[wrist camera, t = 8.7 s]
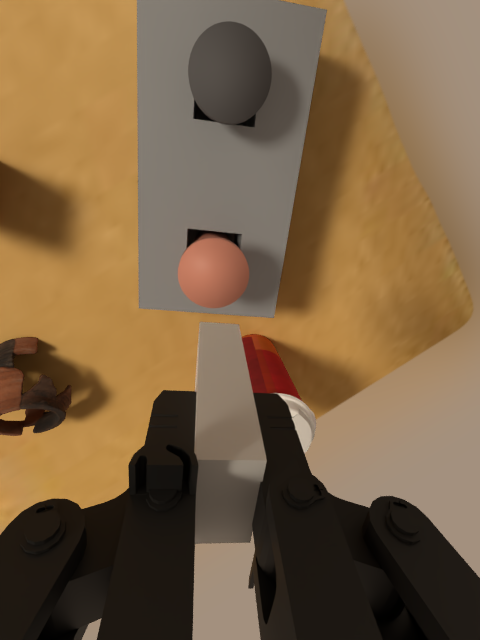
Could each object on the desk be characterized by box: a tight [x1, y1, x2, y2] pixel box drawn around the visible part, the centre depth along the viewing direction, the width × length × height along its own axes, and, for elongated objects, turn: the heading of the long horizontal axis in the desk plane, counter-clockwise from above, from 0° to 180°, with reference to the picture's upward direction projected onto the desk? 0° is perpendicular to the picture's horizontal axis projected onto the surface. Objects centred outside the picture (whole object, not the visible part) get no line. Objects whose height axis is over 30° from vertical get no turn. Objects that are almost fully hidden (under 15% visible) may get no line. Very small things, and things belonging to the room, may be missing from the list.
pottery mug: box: [0, 337, 71, 436], centre depth 37 cm, size 12×10×8 cm
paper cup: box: [242, 334, 316, 454], centre depth 34 cm, size 8×8×14 cm
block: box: [137, 0, 327, 318], centre depth 29 cm, size 22×12×7 cm, turn 173°
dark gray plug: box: [188, 21, 272, 125], centre depth 24 cm, size 5×5×9 cm
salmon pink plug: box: [178, 230, 249, 308], centre depth 28 cm, size 5×5×9 cm
